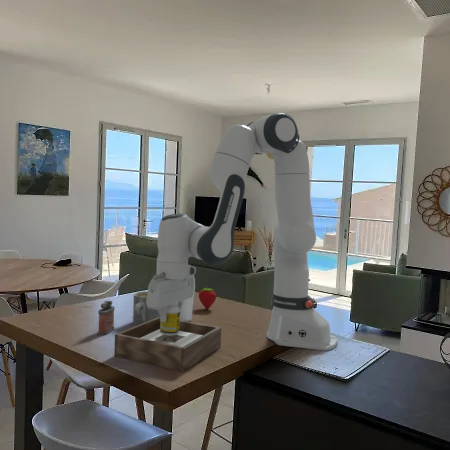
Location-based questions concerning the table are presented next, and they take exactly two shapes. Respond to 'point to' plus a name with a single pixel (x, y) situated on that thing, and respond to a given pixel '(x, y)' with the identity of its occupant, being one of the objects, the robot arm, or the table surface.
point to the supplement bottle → (171, 320)
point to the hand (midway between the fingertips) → (170, 318)
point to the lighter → (106, 318)
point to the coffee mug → (142, 309)
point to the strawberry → (207, 297)
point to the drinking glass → (187, 308)
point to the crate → (168, 344)
